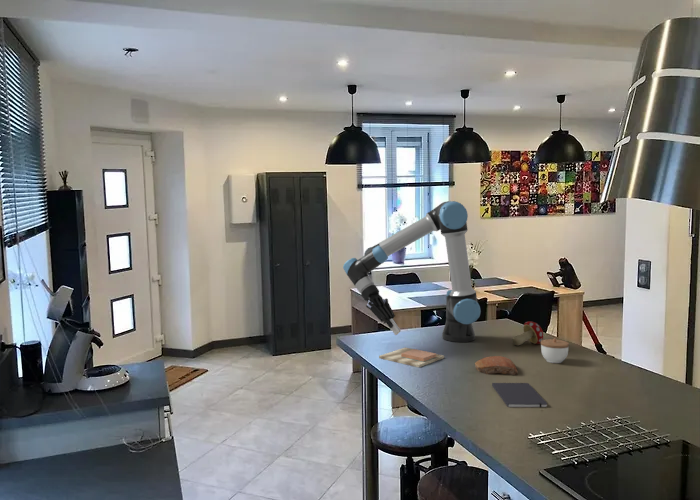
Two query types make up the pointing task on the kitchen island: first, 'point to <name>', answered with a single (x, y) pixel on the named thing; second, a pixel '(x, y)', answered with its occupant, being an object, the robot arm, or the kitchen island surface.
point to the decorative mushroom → (529, 334)
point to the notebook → (519, 395)
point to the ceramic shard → (496, 365)
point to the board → (396, 357)
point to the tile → (418, 355)
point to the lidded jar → (554, 350)
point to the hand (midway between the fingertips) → (398, 332)
